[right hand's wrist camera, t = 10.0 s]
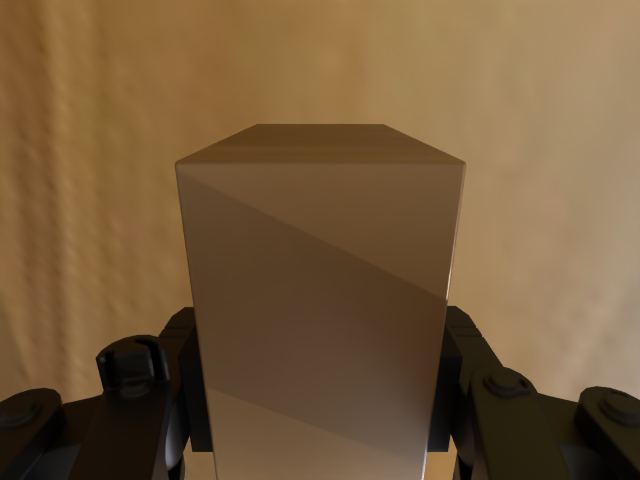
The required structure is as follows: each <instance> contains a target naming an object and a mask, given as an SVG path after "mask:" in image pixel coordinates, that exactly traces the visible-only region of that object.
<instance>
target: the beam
mask: <svg viewBox="0 0 640 480" xmlns="http://www.w3.org/2000/svg"><path fill="white" fill-rule="evenodd" d="M175 170H176V178H177V185H178V193H179V200H180V208H181V215H182V223H183V230H184V238H185V245H186V253H187V260H188V268H189V275H190V283H191V290H192V298H193V305H194V313H195V320H196V328H197V335H198V343H199V350H200V358H201V365H202V373H203V380H204V388H205V395H206V403H207V411H208V418H209V426H210V433H211V441H212V448H213V456H214V463H215V471H216V478H217V480H423V478H424V471H425V464H426V456H427V449H428V442H429V434H430V427H431V420H432V412H433V405H434V398H435V391H436V383H437V376H438V369H439V361H440V354H441V347H442V339H443V332H444V325H445V318H446V310H447V303H448V296H449V288H450V281H451V274H452V266H453V259H454V252H455V245H456V237H457V230H458V223H459V215H460V208H461V201H462V193H463V186H464V179H465V172H466V163H465V162H464V161H462V160H460V159H458V158H456V157H454V156H451V155H449V154H447V153H445V152H443V151H441V150H438V149H436V148H434V147H432V146H430V145H427V144H425V143H423V142H421V141H419V140H417V139H414V138H412V137H410V136H408V135H406V134H404V133H401V132H399V131H397V130H395V129H393V128H391V127H388V126H386V125H384V124H256V125H254V126H252V127H250V128H247V129H245V130H243V131H241V132H239V133H237V134H234V135H232V136H230V137H228V138H226V139H224V140H221V141H219V142H217V143H215V144H213V145H211V146H208V147H206V148H204V149H202V150H200V151H198V152H195V153H193V154H191V155H189V156H187V157H185V158H182V159H180V160H178V161H176V163H175Z"/></svg>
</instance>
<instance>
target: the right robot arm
mask: <svg viewBox="0 0 640 480" xmlns="http://www.w3.org/2000/svg"><path fill="white" fill-rule="evenodd" d="M96 362H97V366H98V370H99V374H100V378H101V382H102V386H103V390H104V391H103V393H102V395H99V396H95V397H92V398H88V399H83V400H79V401H74V402H70V403H65V404H63V403H62V400H61V396H60V394H59V393H58V392H56V391H55V390H53V389H48V388H39V389H31V390H27V391H24V392H21V393H18V394H15V395H13V396H11V397H9V398H7V399H5V400H3V401H2V402H0V480H184V476H185V462H184V456H183V451H184V449H185V446H186V443H187V441H188V438H189V436H190V440H191V446H192V452H213V448H212V441H211V433H210V426H209V418H208V411H207V403H206V395H205V388H204V380H203V373H202V365H201V358H200V350H199V343H198V335H197V328H196V320H195V313H194V307H184V308H183V309H182V310H180V311H179V312H177V313H176V314H175V315H173V316H172V317H171V318H170V320H169V321H168V323H167V324H166V326H165V329H163V330H162V332H161V333H160V335H159V337H156V336H152V335H135V336H131V337H126V338H123V339H121V340H118V341H116V342H114V343H112V344H110V345H109V346H107V347H106V348H104V349H103V350H102V351H101V352H100V353H99V354H98V356H97V357H96ZM450 435H451V436H452V438H453V441H454V443H455V446H456V449H457V456H456V462H455V468H454V473H453V479H452V480H640V400H639V399H637V398H635V397H633V396H631V395H629V394H627V393H625V392H622V391H618V390H616V389H612V388H607V387H599V386H595V387H590V388H586V389H585V390H584V391H583V392H581V394H580V397H579V401H578V402H573V401H569V400H564V399H560V398H555V397H551V396H547V395H544V394H540V393H537V390H536V389H535V387H534V386H533V384H532V383H531V381H529V380H528V379H527V378H525V377H524V376H523V375H522V374H520V373H518V372H516V371H514V370H512V369H510V368H506V367H503V365H502V364H501V362H500V361H499V359H498V358H497V356H496V355H495V354H494V352H493V351H492V349H491V348H490V346H489V345H488V343H487V342H486V340H485V339H484V337H482V334H481V333H480V331H479V330H478V328H476V325H475V324H474V322H473V321H472V319H471V318H470V316H469V315H468V314H466V313H465V312H463V311H462V310H461V309H459V308H458V307H456V306H447V310H446V318H445V325H444V332H443V339H442V347H441V354H440V361H439V369H438V376H437V383H436V391H435V398H434V405H433V412H432V420H431V427H430V434H429V442H428V449H427V452H448V447H449V441H450Z"/></svg>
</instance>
